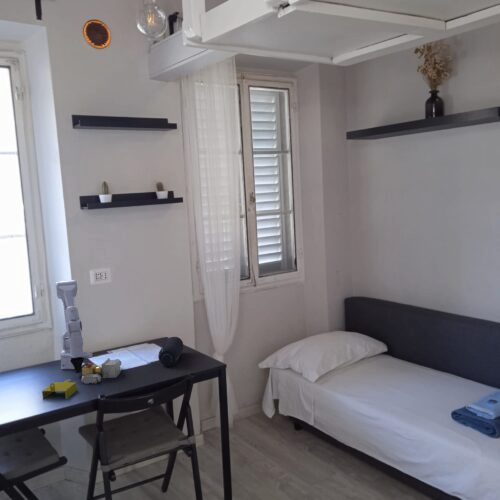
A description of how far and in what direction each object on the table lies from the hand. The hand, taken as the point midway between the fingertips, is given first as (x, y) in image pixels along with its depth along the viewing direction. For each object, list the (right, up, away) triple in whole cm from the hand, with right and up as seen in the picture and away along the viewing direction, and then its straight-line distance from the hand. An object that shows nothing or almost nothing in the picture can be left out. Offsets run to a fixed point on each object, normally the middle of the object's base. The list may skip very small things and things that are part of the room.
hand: (78, 372), depth 254 cm
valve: (+8, -1, -1) cm, 8 cm away
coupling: (+17, -1, +1) cm, 17 cm away
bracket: (0, -5, -21) cm, 22 cm away
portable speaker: (+43, +2, +17) cm, 46 cm away
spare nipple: (+9, -2, -10) cm, 14 cm away
